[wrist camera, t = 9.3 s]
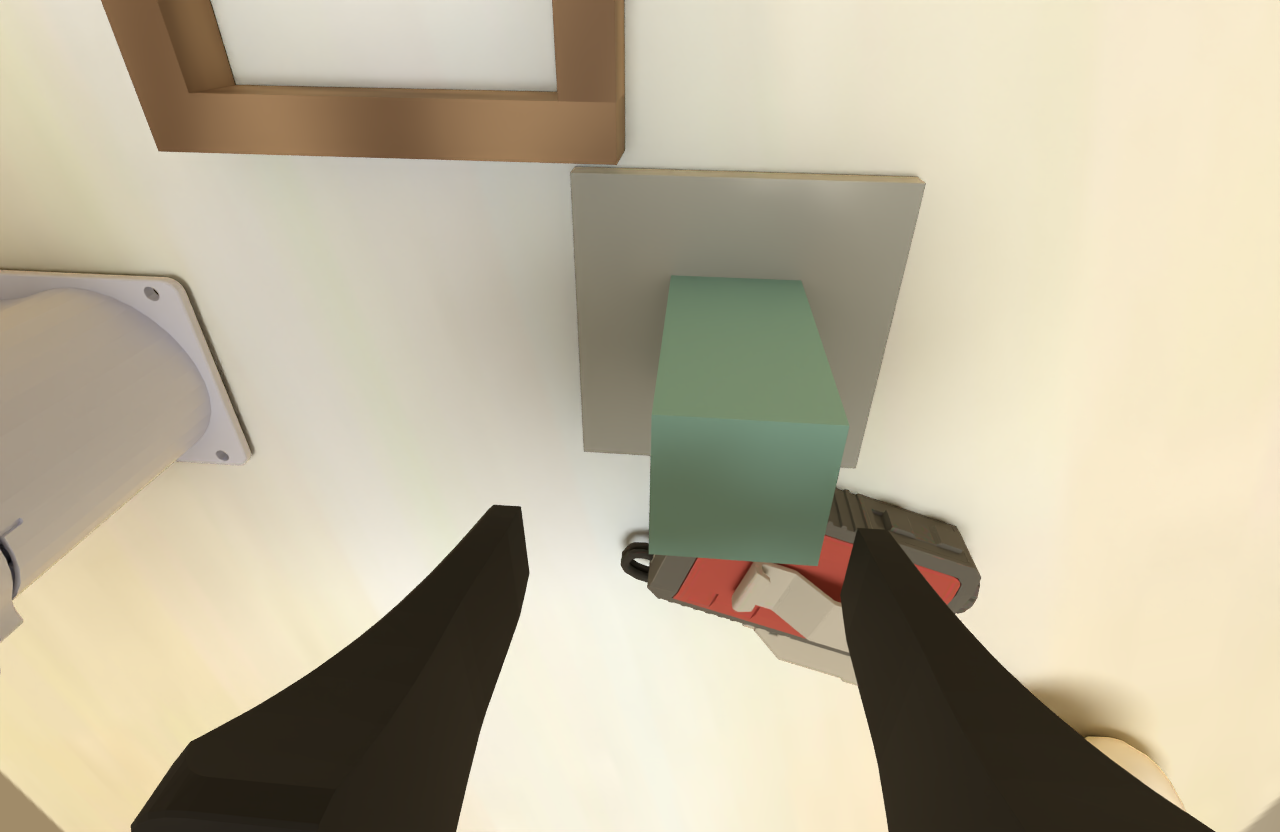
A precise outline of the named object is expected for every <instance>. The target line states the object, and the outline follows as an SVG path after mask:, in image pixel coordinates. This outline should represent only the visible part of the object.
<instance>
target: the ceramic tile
mask: <svg viewBox="0 0 1280 832" xmlns="http://www.w3.org/2000/svg"><path fill="white" fill-rule="evenodd" d="M570 176H571V196H572V217H573V237H574V258H575V278H576V299H577V319H578V340H579V361H580V381H581V402H582V422H583V443H584V452H600V453H616V454H632V455H648V456H651V418H652V408H653V401H654V394H655V387H656V379H657V372H658V365H659V358H660V351H661V344H662V336H663V329H664V322H665V315H666V308H667V301H668V293H669V286H670V279H671V275H675V276H700V277H725V278H750V279H775V280H800V281H802V284H803V287H804V290H805V293H806V296H807V299H808V302H809V305H810V308H811V311H812V314H813V317H814V320H815V323H816V326H817V329H818V332H819V335H820V338H821V341H822V344H823V347H824V350H825V353H826V356H827V359H828V362H829V365H830V368H831V371H832V374H833V377H834V380H835V383H836V386H837V389H838V392H839V395H840V398H841V401H842V404H843V407H844V410H845V413H846V417H847V420H848V423H849V430H848V435H847V439H846V444H845V448H844V452H843V457H842V461H841V466H840V467H842V468H856V464H857V460H858V456H859V452H860V448H861V444H862V440H863V436H864V432H865V428H866V424H867V420H868V416H869V412H870V408H871V404H872V400H873V396H874V391H875V387H876V383H877V379H878V375H879V371H880V367H881V363H882V359H883V355H884V351H885V347H886V343H887V339H888V335H889V331H890V327H891V323H892V319H893V315H894V310H895V306H896V302H897V298H898V294H899V290H900V286H901V282H902V278H903V274H904V270H905V266H906V262H907V258H908V254H909V250H910V246H911V242H912V238H913V233H914V229H915V225H916V221H917V217H918V213H919V209H920V205H921V201H922V197H923V193H924V189H925V185H926V183H925V182H924V181H922V180H921V179H920V178H919V177H906V176H872V175H839V174H805V173H771V172H738V171H704V170H670V169H637V168H603V167H575V168H574V169H573V170H572V171H571V172H570Z"/></svg>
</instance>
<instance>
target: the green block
mask: <svg viewBox="0 0 1280 832" xmlns="http://www.w3.org/2000/svg"><path fill="white" fill-rule="evenodd" d="M848 430H849V423H848V420H847V417H846V413H845V410H844V407H843V404H842V401H841V398H840V395H839V392H838V389H837V386H836V383H835V380H834V377H833V374H832V371H831V368H830V365H829V362H828V359H827V356H826V353H825V350H824V347H823V344H822V341H821V338H820V335H819V332H818V329H817V326H816V323H815V320H814V317H813V314H812V311H811V308H810V305H809V302H808V299H807V296H806V293H805V290H804V287H803V284H802V281H800V280H775V279H750V278H725V277H700V276H675V275H671V279H670V286H669V293H668V301H667V308H666V315H665V322H664V329H663V336H662V344H661V351H660V358H659V365H658V372H657V379H656V387H655V394H654V401H653V408H652V418H651V466H650V513H649V554H655V555H669V556H683V557H697V558H710V559H724V560H738V561H752V562H766V563H780V564H794V565H808V566H818V562H819V558H820V553H821V549H822V545H823V540H824V536H825V532H826V527H827V523H828V518H829V514H830V510H831V505H832V501H833V496H834V492H835V488H836V483H837V479H838V474H839V470H840V466H841V461H842V457H843V452H844V448H845V444H846V439H847V435H848Z"/></svg>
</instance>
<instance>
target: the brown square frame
mask: <svg viewBox="0 0 1280 832" xmlns="http://www.w3.org/2000/svg"><path fill="white" fill-rule="evenodd" d="M101 1H102V4H103V7H104V9H105V12H106V15H107V17H108V20H109V22H110V25H111V28H112V30H113V33H114V36H115V38H116V41H117V43H118V46H119V49H120V51H121V54H122V57H123V59H124V62H125V64H126V67H127V70H128V72H129V75H130V77H131V80H132V83H133V85H134V88H135V91H136V93H137V96H138V98H139V101H140V104H141V106H142V109H143V112H144V114H145V117H146V119H147V122H148V125H149V127H150V130H151V132H152V135H153V138H154V140H155V143H156V146H157V148H158V151H165V152H199V153H233V154H267V155H301V156H336V157H370V158H404V159H438V160H472V161H506V162H540V163H574V164H608V165H617V163H618V161H619V160H620V158H621V156H622V154H623V153H624V151H625V34H624V0H552V6H553V24H554V42H555V60H556V78H557V92H542V91H495V90H448V89H401V88H354V87H307V86H260V85H235V82H234V79H233V75H232V72H231V69H230V66H229V62H228V59H227V56H226V52H225V49H224V46H223V42H222V39H221V36H220V33H219V29H218V26H217V23H216V19H215V16H214V13H213V9H212V6H211V3H210V0H101Z"/></svg>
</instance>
